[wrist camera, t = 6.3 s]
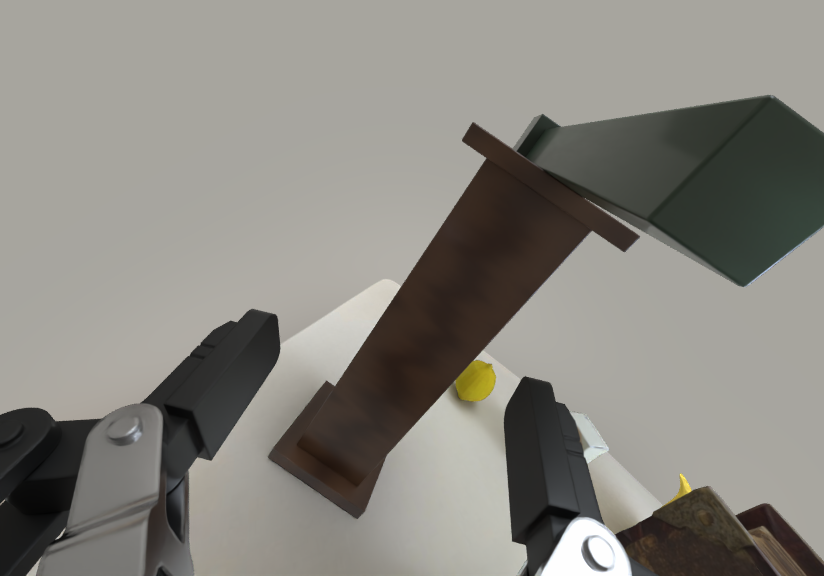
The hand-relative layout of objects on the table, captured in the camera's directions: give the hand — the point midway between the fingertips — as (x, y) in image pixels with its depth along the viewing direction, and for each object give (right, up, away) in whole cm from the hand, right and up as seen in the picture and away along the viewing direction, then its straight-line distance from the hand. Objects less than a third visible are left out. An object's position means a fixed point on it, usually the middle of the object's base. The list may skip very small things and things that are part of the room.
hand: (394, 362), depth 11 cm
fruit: (+8, -15, +41) cm, 45 cm away
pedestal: (-7, -14, +24) cm, 29 cm away
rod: (+8, +8, +6) cm, 13 cm away
